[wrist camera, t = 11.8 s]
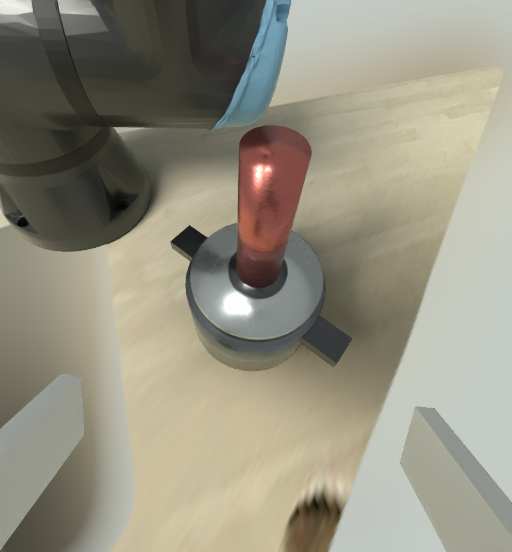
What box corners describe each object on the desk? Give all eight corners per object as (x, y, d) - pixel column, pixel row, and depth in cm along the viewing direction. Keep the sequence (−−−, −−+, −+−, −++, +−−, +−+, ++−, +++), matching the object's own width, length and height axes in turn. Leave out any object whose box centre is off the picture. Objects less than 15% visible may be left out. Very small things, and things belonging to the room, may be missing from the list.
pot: (149, 303, 30) (127, 266, 24) (222, 235, 35) (220, 189, 29) (291, 420, 26) (309, 412, 20) (353, 324, 30) (383, 293, 24)
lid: (182, 242, 25) (146, 94, 15) (294, 220, 27) (333, 76, 17) (206, 358, 21) (180, 265, 10) (339, 323, 23) (432, 213, 12)
